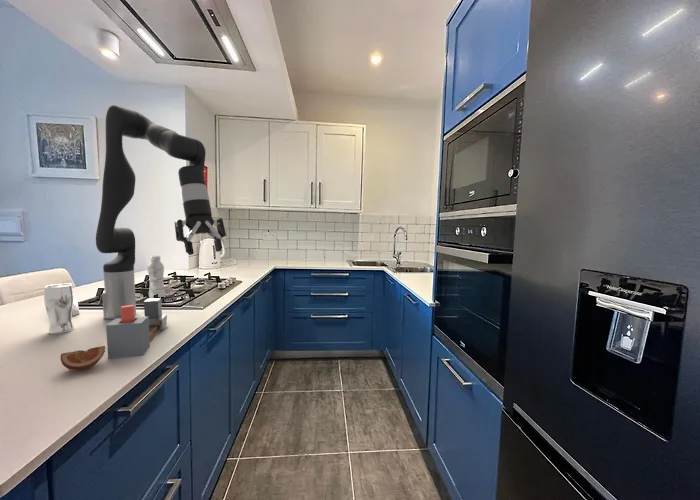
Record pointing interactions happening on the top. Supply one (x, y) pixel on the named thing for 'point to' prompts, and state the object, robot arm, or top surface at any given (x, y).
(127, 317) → the button
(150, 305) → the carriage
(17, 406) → the top surface
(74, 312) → the crystal
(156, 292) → the plastic bottle
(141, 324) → the cabinet
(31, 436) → the top surface
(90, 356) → the fruit slice
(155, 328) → the rail
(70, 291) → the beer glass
